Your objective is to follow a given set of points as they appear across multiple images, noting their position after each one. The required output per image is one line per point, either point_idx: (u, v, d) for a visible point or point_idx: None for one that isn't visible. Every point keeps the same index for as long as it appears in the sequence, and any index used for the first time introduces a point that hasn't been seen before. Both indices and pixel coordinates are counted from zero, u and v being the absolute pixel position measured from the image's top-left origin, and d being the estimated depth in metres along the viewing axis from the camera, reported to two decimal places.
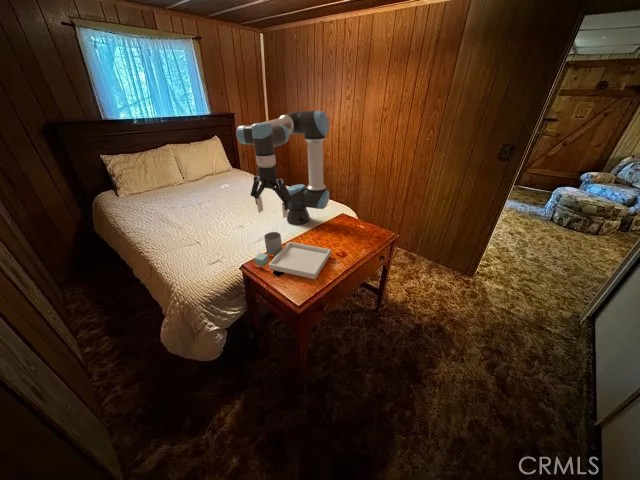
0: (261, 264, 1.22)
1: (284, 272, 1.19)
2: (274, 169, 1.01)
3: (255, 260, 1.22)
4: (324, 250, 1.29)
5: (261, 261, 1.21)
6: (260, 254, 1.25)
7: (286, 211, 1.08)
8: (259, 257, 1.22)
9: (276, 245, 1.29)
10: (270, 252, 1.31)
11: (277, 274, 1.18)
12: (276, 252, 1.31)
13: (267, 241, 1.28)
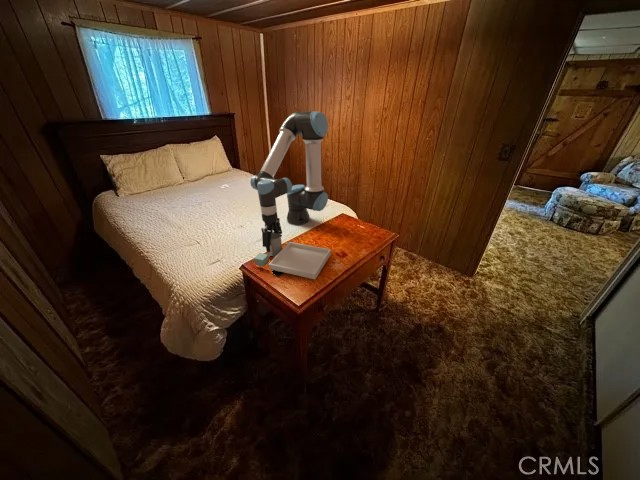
0: (261, 264, 1.22)
1: (284, 272, 1.19)
2: (265, 217, 1.21)
3: (255, 260, 1.22)
4: (324, 250, 1.29)
5: (261, 261, 1.21)
6: (260, 254, 1.25)
7: (269, 252, 1.30)
8: (259, 257, 1.22)
9: (276, 245, 1.29)
10: None
11: (277, 274, 1.18)
12: (276, 252, 1.31)
13: None
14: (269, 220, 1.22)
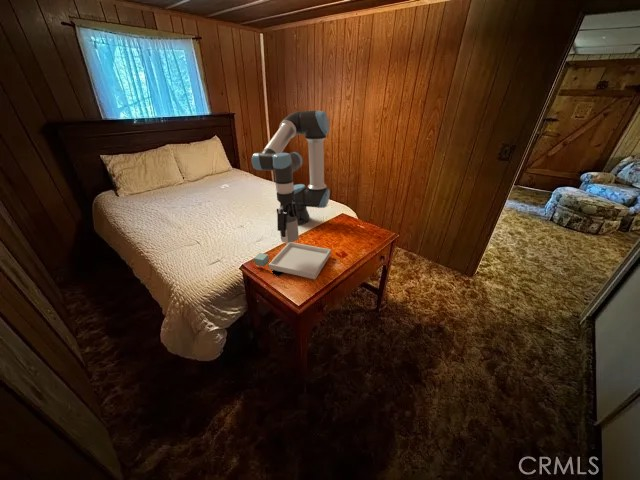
0: (261, 264, 1.22)
1: (284, 272, 1.19)
2: (281, 197, 1.06)
3: (255, 260, 1.22)
4: (324, 250, 1.29)
5: (261, 261, 1.21)
6: (260, 254, 1.25)
7: (285, 238, 1.15)
8: (259, 257, 1.22)
9: (292, 229, 1.14)
10: None
11: (277, 274, 1.18)
12: (292, 237, 1.16)
13: None
14: (285, 200, 1.07)
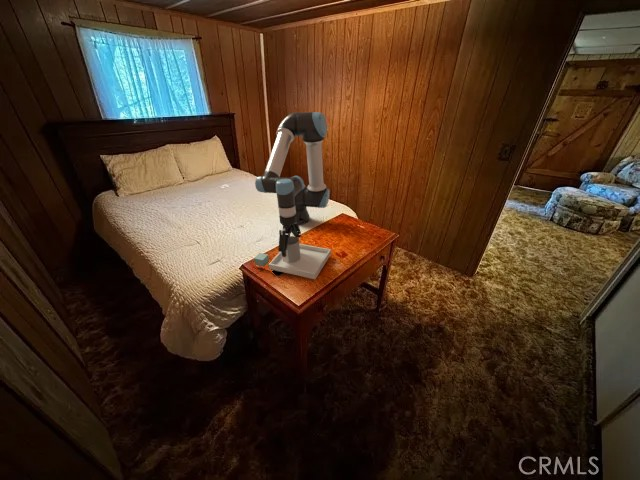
0: (261, 264, 1.22)
1: (284, 272, 1.19)
2: (283, 220, 1.12)
3: (255, 260, 1.22)
4: (324, 250, 1.29)
5: (261, 261, 1.21)
6: (260, 254, 1.25)
7: (285, 257, 1.18)
8: (259, 257, 1.22)
9: (294, 250, 1.20)
10: (288, 258, 1.21)
11: (277, 274, 1.18)
12: (294, 258, 1.21)
13: None
14: (288, 223, 1.12)
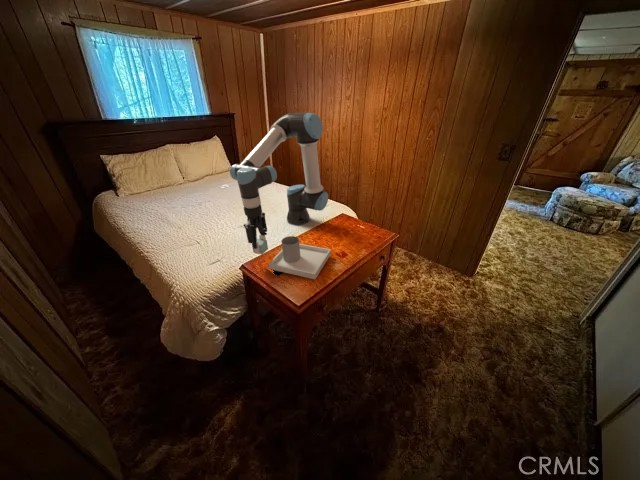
0: None
1: None
2: (247, 211, 1.07)
3: None
4: (324, 250, 1.29)
5: (259, 246, 1.17)
6: (258, 240, 1.21)
7: (256, 249, 1.18)
8: None
9: (294, 250, 1.20)
10: (288, 258, 1.21)
11: (277, 273, 1.18)
12: (294, 258, 1.21)
13: (285, 246, 1.18)
14: (252, 214, 1.08)
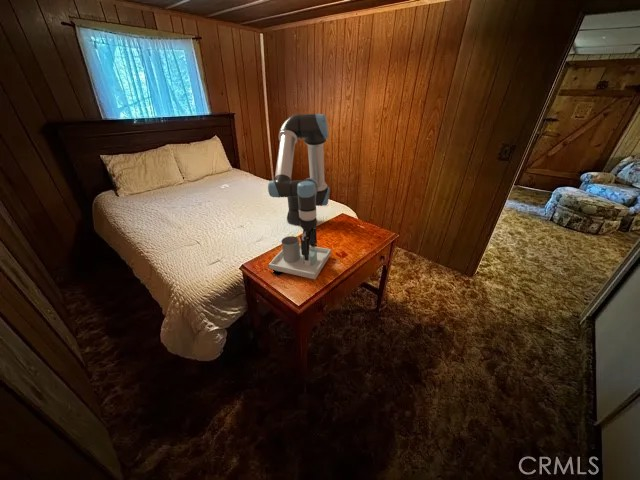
0: None
1: None
2: (304, 223, 1.08)
3: None
4: (324, 250, 1.29)
5: (311, 258, 1.18)
6: None
7: (307, 261, 1.18)
8: None
9: (294, 250, 1.20)
10: (288, 258, 1.21)
11: (277, 273, 1.18)
12: (294, 258, 1.21)
13: (285, 246, 1.18)
14: (308, 226, 1.09)
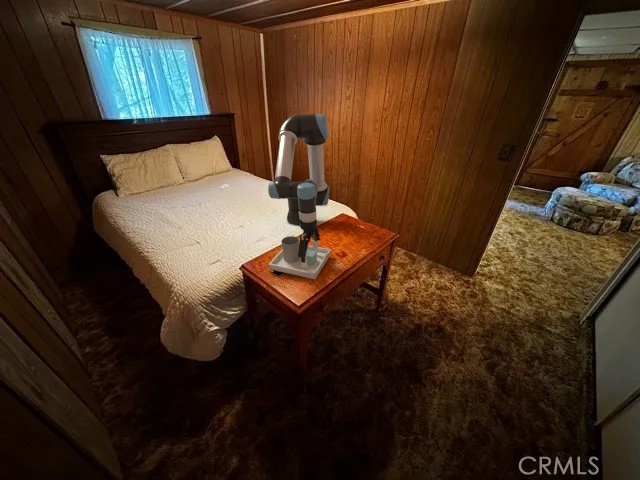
0: (310, 261, 1.19)
1: None
2: (304, 225, 1.09)
3: None
4: (324, 250, 1.29)
5: (311, 258, 1.18)
6: (308, 251, 1.21)
7: (304, 263, 1.15)
8: (308, 254, 1.19)
9: (294, 250, 1.20)
10: (288, 258, 1.21)
11: (277, 273, 1.18)
12: (294, 258, 1.21)
13: (285, 246, 1.18)
14: (309, 228, 1.09)
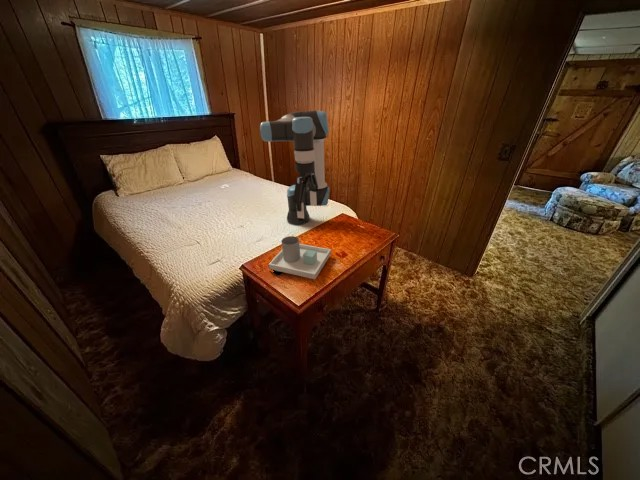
0: (310, 261, 1.19)
1: None
2: (300, 166, 0.96)
3: (304, 257, 1.19)
4: (324, 250, 1.29)
5: (311, 258, 1.18)
6: (308, 251, 1.21)
7: (300, 212, 1.02)
8: (308, 254, 1.19)
9: (294, 250, 1.20)
10: (288, 258, 1.21)
11: (277, 273, 1.18)
12: (294, 258, 1.21)
13: (285, 246, 1.18)
14: (305, 170, 0.97)
